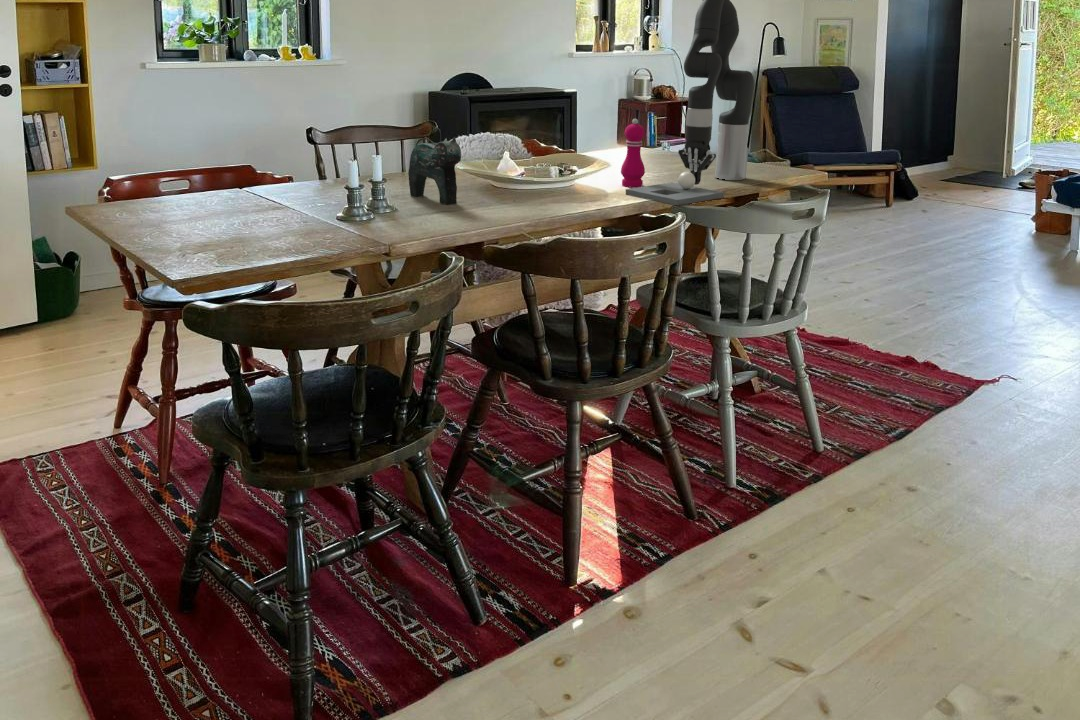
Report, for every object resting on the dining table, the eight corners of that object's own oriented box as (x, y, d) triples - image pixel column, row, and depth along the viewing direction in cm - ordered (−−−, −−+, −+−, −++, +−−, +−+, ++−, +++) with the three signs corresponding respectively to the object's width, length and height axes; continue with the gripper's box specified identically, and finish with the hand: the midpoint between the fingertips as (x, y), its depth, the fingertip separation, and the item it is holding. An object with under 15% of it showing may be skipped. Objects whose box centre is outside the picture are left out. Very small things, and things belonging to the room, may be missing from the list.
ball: (685, 186, 313) (686, 169, 311) (698, 189, 309) (699, 171, 308) (674, 188, 310) (674, 171, 308) (687, 191, 306) (687, 173, 305)
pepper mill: (642, 188, 318) (646, 120, 311) (618, 187, 319) (621, 119, 312) (645, 184, 324) (648, 117, 318) (621, 183, 326) (624, 116, 319)
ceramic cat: (463, 204, 290) (463, 130, 283) (444, 207, 286) (443, 131, 279) (421, 193, 304) (420, 122, 297) (402, 195, 300) (400, 124, 293)
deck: (672, 187, 320) (672, 182, 320) (723, 197, 306) (724, 192, 306) (625, 194, 308) (625, 189, 307) (677, 205, 294) (677, 199, 293)
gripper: (725, 125, 303) (720, 186, 309) (690, 120, 313) (686, 179, 318) (708, 127, 299) (703, 188, 304) (673, 122, 308) (669, 182, 314)
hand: (694, 183), depth 311 cm, fingers closed
